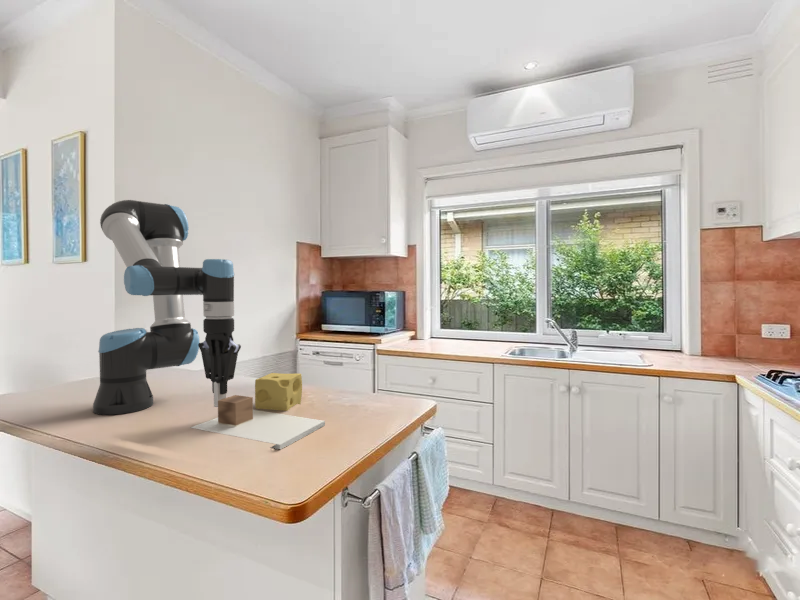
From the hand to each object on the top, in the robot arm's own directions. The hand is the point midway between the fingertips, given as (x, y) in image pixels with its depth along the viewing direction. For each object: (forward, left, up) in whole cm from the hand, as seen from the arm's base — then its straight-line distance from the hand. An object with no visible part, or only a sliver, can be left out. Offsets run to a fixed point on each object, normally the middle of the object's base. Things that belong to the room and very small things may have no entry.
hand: (220, 405), depth 111 cm
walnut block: (+5, 0, -4) cm, 6 cm away
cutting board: (+12, +1, -5) cm, 13 cm away
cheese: (+5, +17, -5) cm, 19 cm away
